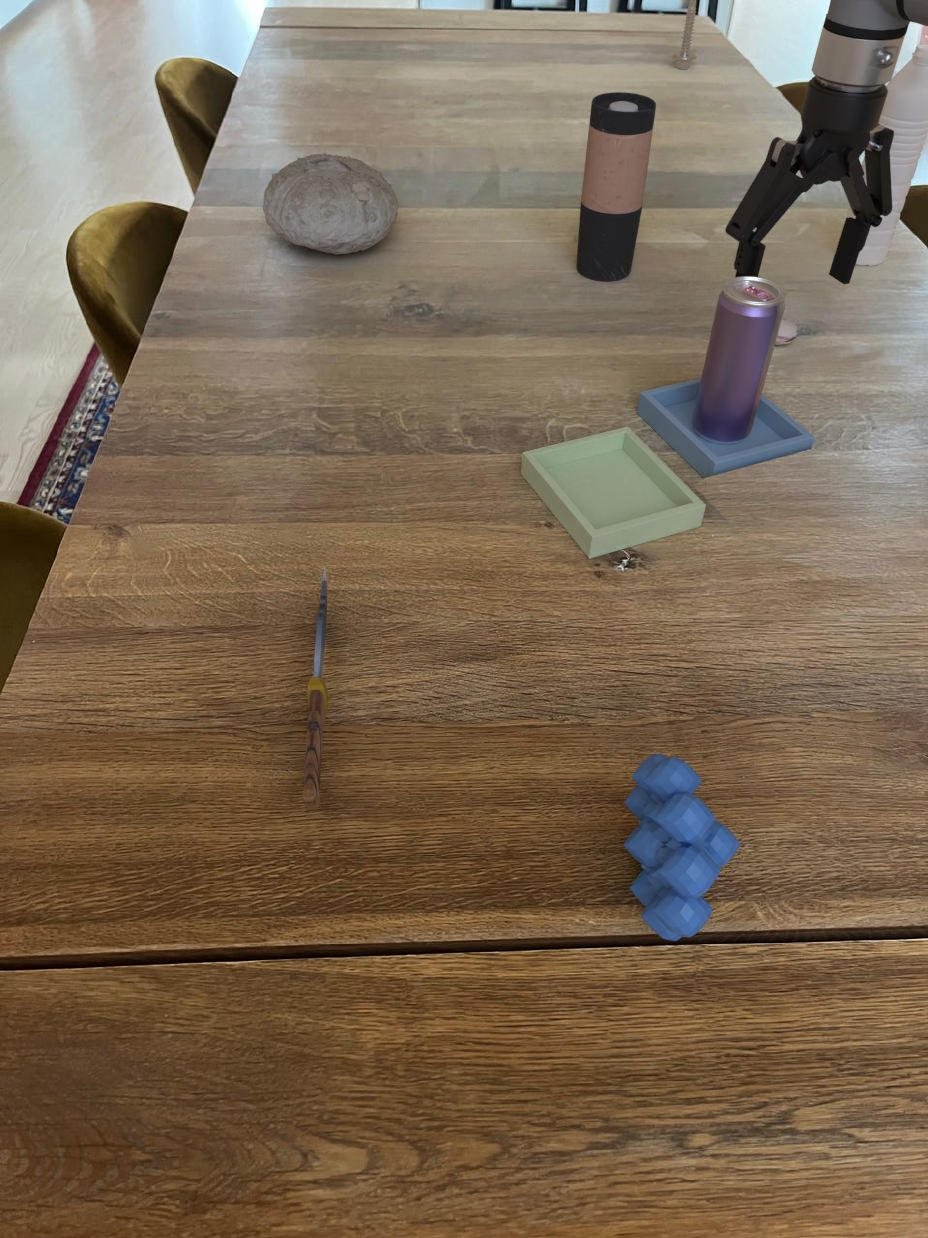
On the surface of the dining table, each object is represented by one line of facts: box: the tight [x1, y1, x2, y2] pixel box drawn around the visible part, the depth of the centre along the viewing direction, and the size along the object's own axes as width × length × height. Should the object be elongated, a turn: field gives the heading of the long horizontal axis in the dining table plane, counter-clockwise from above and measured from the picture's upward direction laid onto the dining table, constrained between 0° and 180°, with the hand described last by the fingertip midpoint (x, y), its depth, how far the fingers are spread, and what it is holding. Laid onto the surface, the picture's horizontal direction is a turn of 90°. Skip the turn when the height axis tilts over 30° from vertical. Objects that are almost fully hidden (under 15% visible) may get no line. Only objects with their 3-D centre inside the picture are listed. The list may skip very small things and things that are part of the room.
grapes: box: [623, 752, 741, 942], centre depth 55 cm, size 12×7×12 cm, turn 1°
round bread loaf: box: [262, 152, 399, 256], centre depth 124 cm, size 18×18×10 cm
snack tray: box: [520, 426, 707, 560], centre depth 87 cm, size 14×12×2 cm
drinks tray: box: [636, 377, 815, 479], centre depth 95 cm, size 14×12×2 cm
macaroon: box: [775, 318, 798, 346], centre depth 110 cm, size 4×5×2 cm
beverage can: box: [692, 276, 787, 445], centre depth 90 cm, size 6×6×15 cm
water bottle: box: [842, 43, 928, 267], centre depth 117 cm, size 9×6×25 cm
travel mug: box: [576, 91, 657, 282], centre depth 116 cm, size 8×8×20 cm
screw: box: [671, 0, 697, 70], centre depth 185 cm, size 13×5×5 cm
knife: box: [302, 567, 329, 811], centre depth 69 cm, size 25×1×5 cm, turn 4°
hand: (790, 289), depth 106 cm, fingers open, 13 cm apart
